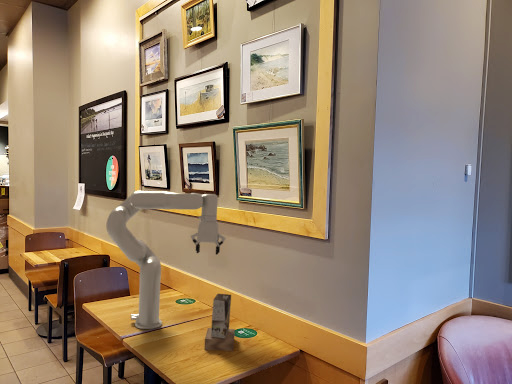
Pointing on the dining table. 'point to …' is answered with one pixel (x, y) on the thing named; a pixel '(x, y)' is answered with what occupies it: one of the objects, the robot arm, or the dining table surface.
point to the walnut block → (219, 341)
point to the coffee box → (221, 315)
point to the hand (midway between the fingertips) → (207, 253)
